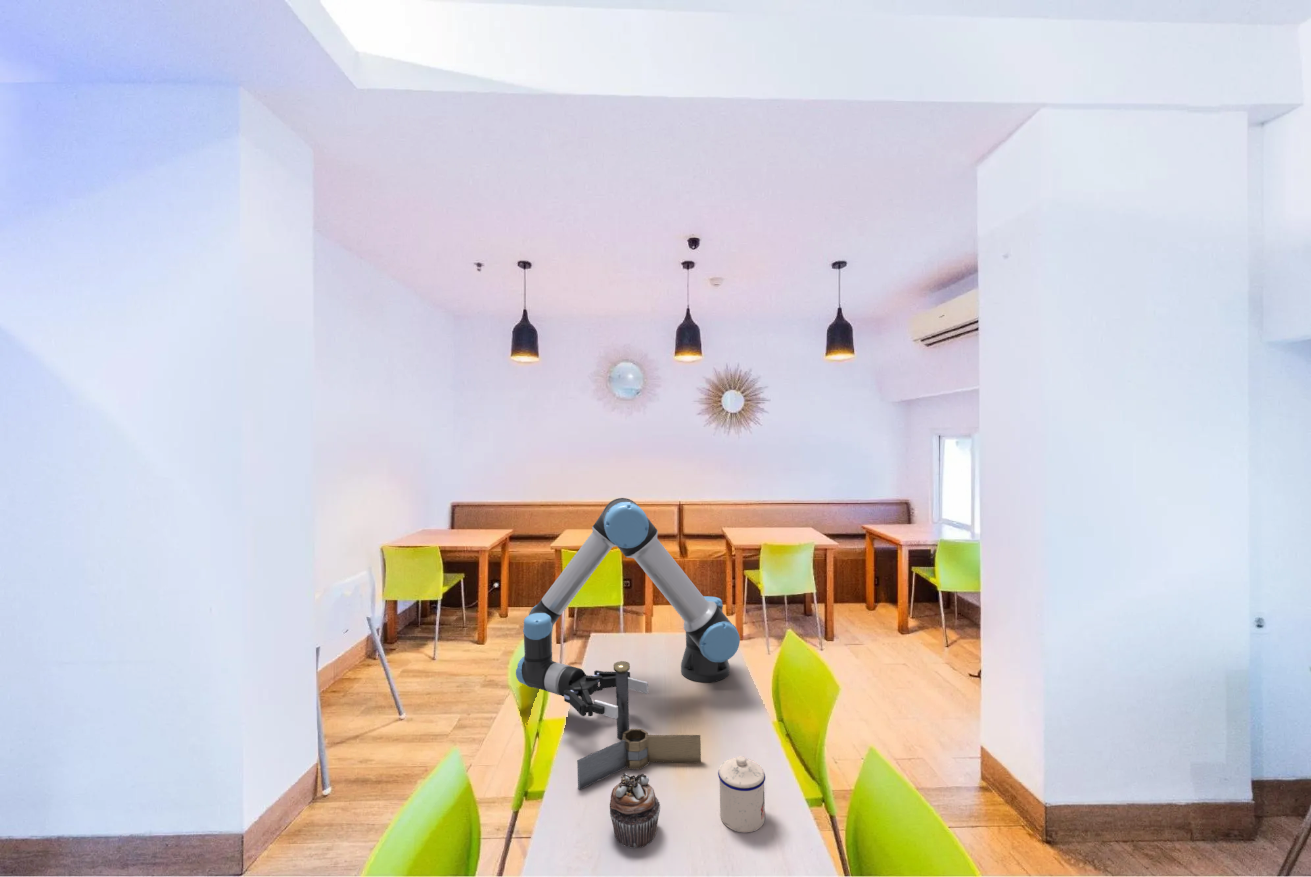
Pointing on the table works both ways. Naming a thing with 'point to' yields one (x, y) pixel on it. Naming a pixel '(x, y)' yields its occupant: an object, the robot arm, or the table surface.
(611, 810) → the cupcake
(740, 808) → the teacup with lid
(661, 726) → the table surface
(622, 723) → the hinge pin
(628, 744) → the tan flat knuckled part
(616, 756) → the hinge leaf
